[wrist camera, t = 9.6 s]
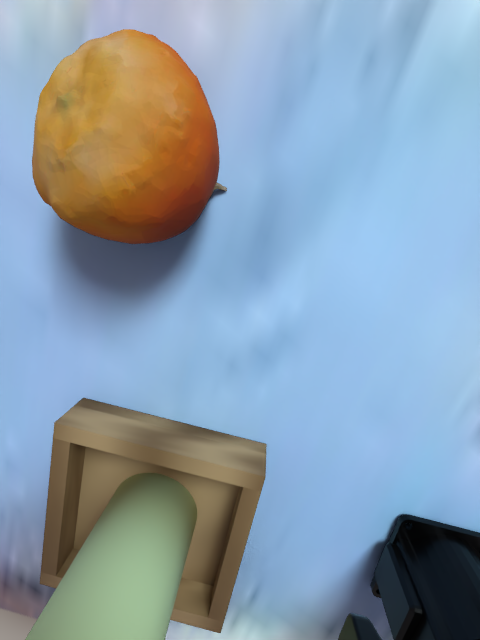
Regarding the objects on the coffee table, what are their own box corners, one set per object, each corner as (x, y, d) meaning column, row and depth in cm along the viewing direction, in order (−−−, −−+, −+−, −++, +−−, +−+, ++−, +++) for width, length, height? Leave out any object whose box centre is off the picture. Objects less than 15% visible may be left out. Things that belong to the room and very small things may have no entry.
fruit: (179, 302, 18) (32, 253, 11) (118, 213, 22) (-25, 131, 14) (290, 188, 16) (199, 42, 9) (206, 109, 20) (90, -43, 13)
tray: (266, 444, 21) (265, 476, 19) (226, 586, 25) (220, 633, 22) (83, 397, 22) (54, 422, 19) (66, 543, 25) (39, 583, 22)
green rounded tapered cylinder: (204, 485, 21) (105, 846, 9) (189, 553, 23) (85, 945, 10) (118, 463, 22) (-98, 784, 9) (109, 532, 23) (-89, 890, 11)
